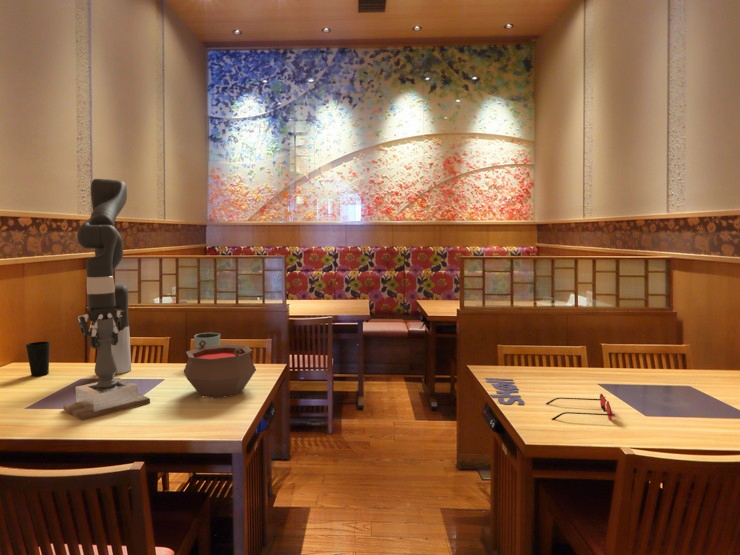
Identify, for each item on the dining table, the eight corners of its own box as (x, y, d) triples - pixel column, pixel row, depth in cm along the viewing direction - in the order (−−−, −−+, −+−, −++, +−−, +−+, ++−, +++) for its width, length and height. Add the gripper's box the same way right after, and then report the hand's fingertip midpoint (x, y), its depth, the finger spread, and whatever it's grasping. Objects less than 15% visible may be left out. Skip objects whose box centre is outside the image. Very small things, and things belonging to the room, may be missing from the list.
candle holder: (122, 396, 168) (118, 317, 166) (111, 402, 162) (106, 320, 159) (103, 395, 168) (99, 316, 166) (91, 402, 162) (86, 320, 160)
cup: (55, 373, 205) (53, 342, 204) (34, 378, 199) (32, 346, 198) (45, 371, 209) (43, 340, 208) (24, 375, 203) (22, 344, 202)
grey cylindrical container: (213, 360, 223) (212, 331, 222) (226, 364, 216) (225, 334, 215) (190, 364, 216) (189, 335, 215) (202, 368, 209) (201, 338, 208)
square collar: (76, 402, 164) (75, 386, 164) (119, 392, 174) (118, 377, 174) (94, 411, 156) (93, 395, 155) (138, 400, 166) (137, 384, 165)
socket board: (63, 410, 162) (63, 405, 162) (129, 394, 177) (129, 390, 177) (82, 420, 153) (82, 415, 153) (150, 402, 168) (149, 398, 168)
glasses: (615, 424, 145) (615, 406, 145) (551, 421, 149) (551, 403, 148) (603, 407, 159) (604, 391, 159) (545, 405, 162) (545, 388, 162)
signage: (526, 404, 161) (492, 403, 162) (526, 406, 161) (492, 405, 162) (513, 378, 189) (484, 377, 190) (513, 380, 189) (484, 379, 190)
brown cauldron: (169, 392, 179) (167, 344, 177) (231, 377, 196) (230, 333, 195) (207, 408, 163) (205, 355, 161) (271, 390, 180) (270, 342, 179)
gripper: (119, 288, 170) (122, 341, 171) (70, 292, 159) (74, 349, 161) (130, 289, 165) (133, 344, 167) (80, 294, 154) (84, 352, 156)
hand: (104, 346), depth 164 cm, fingers closed on candle holder, 5 cm apart
